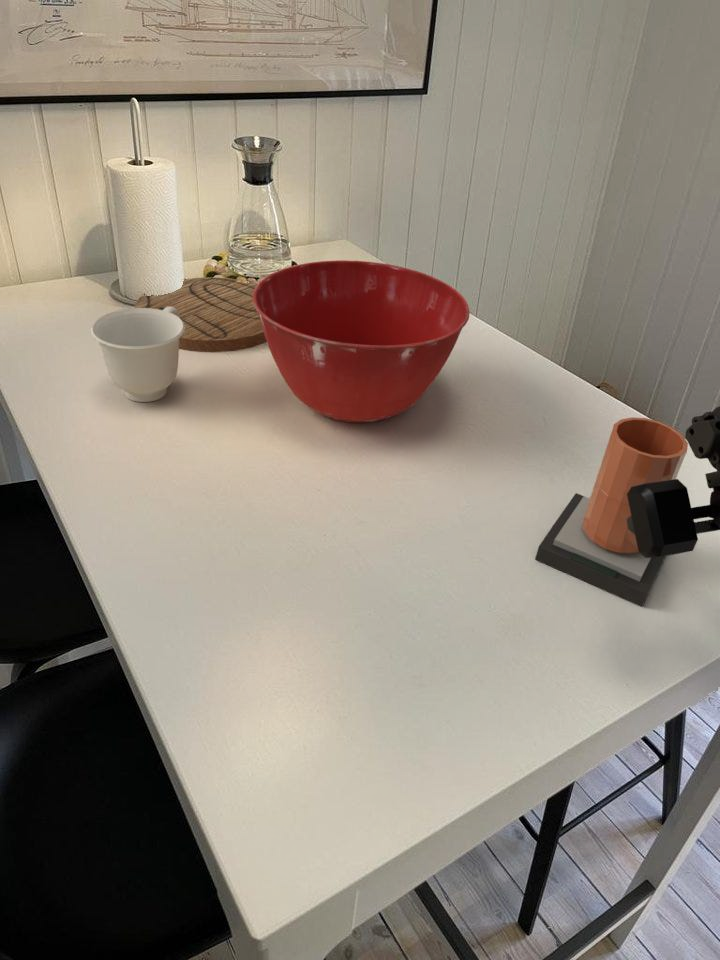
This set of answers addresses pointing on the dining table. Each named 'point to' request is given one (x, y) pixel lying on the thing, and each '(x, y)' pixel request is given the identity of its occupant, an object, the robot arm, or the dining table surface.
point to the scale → (596, 557)
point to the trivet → (213, 314)
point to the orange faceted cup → (630, 477)
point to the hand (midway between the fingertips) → (668, 517)
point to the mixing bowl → (358, 334)
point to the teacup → (140, 349)
